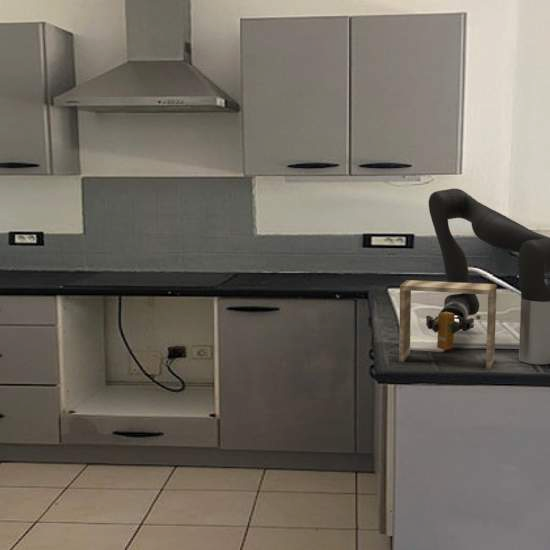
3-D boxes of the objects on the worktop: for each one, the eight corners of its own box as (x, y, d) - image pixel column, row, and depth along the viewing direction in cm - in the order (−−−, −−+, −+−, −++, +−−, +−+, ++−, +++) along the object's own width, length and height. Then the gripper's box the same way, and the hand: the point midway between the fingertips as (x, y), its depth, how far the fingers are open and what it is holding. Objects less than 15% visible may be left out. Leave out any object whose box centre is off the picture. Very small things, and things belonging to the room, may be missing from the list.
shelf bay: (494, 360, 227) (496, 284, 224) (490, 369, 219) (493, 290, 215) (405, 353, 235) (406, 280, 232) (399, 361, 227) (399, 285, 224)
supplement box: (446, 350, 228) (446, 314, 227) (436, 348, 231) (437, 312, 229) (454, 348, 230) (454, 313, 229) (444, 345, 233) (445, 311, 231)
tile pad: (449, 343, 247) (449, 341, 247) (443, 352, 237) (443, 350, 237) (412, 340, 251) (412, 338, 251) (404, 349, 240) (404, 347, 240)
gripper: (429, 302, 245) (418, 314, 229) (478, 304, 240) (471, 317, 224) (429, 326, 246) (418, 340, 230) (478, 330, 241) (470, 344, 225)
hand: (444, 329), depth 227 cm, fingers closed on supplement box, 4 cm apart
